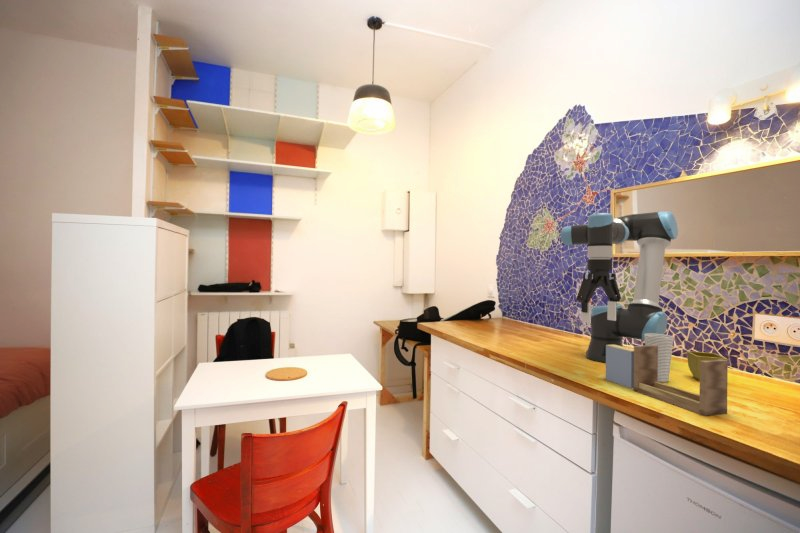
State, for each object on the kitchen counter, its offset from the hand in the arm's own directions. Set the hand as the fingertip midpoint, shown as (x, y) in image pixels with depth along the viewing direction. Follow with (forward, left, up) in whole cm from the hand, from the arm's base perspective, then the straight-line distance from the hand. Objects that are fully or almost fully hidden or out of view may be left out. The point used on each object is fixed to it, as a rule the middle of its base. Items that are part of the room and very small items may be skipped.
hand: (599, 321), depth 126 cm
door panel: (-6, +4, -20) cm, 22 cm away
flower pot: (-39, +8, -21) cm, 45 cm away
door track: (-7, +21, -20) cm, 30 cm away
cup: (-22, +4, -21) cm, 30 cm away
